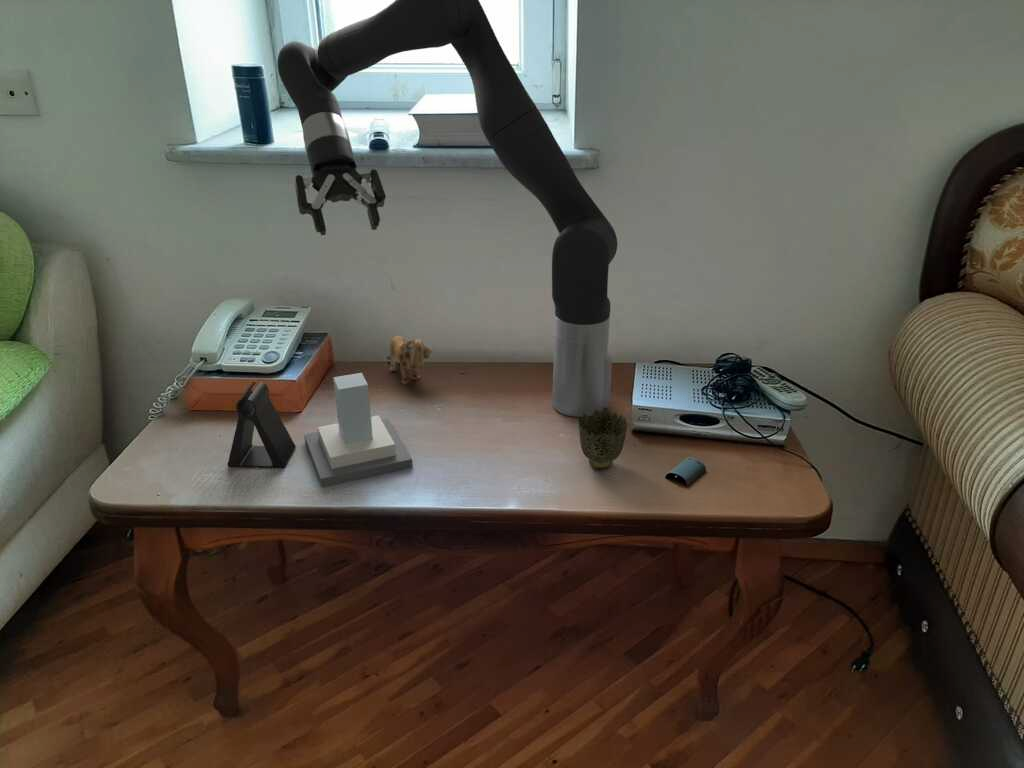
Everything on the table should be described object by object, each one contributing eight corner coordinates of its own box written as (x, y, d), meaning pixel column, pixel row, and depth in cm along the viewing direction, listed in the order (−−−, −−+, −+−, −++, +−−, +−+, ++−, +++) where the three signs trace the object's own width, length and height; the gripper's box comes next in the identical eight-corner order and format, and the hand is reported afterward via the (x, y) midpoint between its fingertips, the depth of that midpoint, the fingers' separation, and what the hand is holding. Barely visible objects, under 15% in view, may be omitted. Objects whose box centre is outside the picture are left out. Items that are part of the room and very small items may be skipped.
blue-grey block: (366, 425, 126) (361, 372, 122) (372, 438, 122) (367, 384, 118) (339, 431, 124) (333, 377, 120) (344, 444, 121) (338, 389, 116)
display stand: (388, 425, 133) (387, 407, 131) (412, 467, 121) (411, 447, 120) (305, 442, 128) (302, 423, 126) (321, 487, 117) (319, 467, 115)
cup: (593, 483, 117) (595, 437, 114) (567, 460, 123) (569, 415, 120) (634, 471, 121) (637, 425, 117) (607, 448, 126) (610, 405, 123)
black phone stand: (296, 448, 126) (286, 381, 121) (285, 468, 121) (274, 400, 116) (241, 447, 127) (229, 380, 121) (227, 467, 121) (214, 398, 116)
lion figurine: (436, 384, 147) (434, 340, 143) (412, 392, 144) (409, 347, 140) (398, 357, 158) (395, 316, 154) (374, 364, 155) (371, 322, 151)
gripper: (286, 136, 128) (307, 222, 123) (372, 130, 133) (395, 213, 128) (285, 163, 134) (305, 246, 130) (367, 157, 139) (388, 237, 135)
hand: (349, 230), depth 129 cm, fingers open, 8 cm apart
